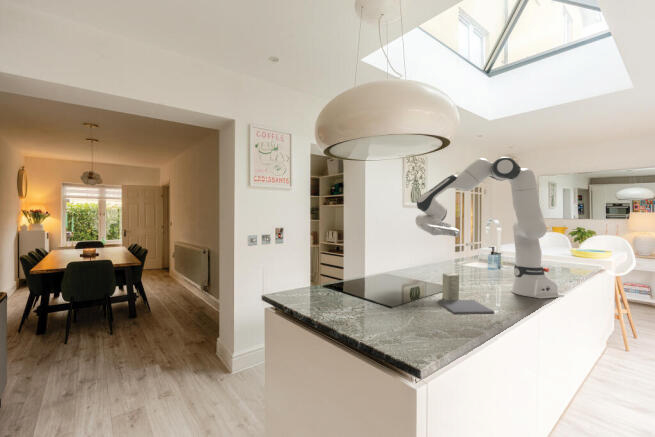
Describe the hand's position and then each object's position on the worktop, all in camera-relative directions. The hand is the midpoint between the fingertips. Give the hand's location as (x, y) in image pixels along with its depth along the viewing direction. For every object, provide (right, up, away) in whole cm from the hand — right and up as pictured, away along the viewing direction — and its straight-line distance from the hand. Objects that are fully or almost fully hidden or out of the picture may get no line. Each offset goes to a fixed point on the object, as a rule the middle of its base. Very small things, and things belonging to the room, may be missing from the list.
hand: (449, 233), depth 151 cm
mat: (-1, -31, -20) cm, 37 cm away
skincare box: (-3, -31, -8) cm, 32 cm away
